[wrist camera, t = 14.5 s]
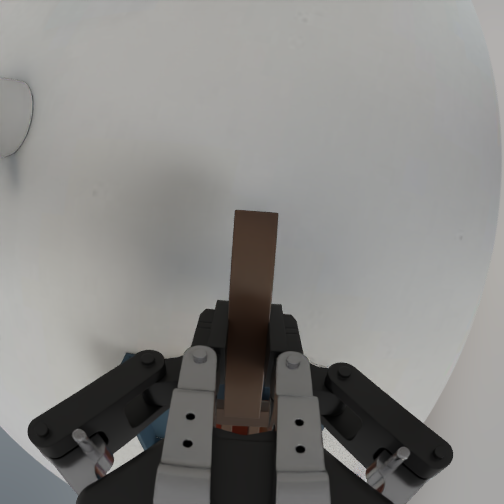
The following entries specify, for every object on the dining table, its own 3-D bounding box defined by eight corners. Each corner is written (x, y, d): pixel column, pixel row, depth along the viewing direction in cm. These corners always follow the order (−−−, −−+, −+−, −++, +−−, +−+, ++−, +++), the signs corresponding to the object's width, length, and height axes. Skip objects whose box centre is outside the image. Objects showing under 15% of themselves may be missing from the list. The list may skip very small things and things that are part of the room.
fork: (203, 211, 14) (194, 207, 11) (306, 219, 14) (318, 216, 11) (199, 459, 15) (194, 482, 12) (274, 463, 15) (277, 487, 12)
